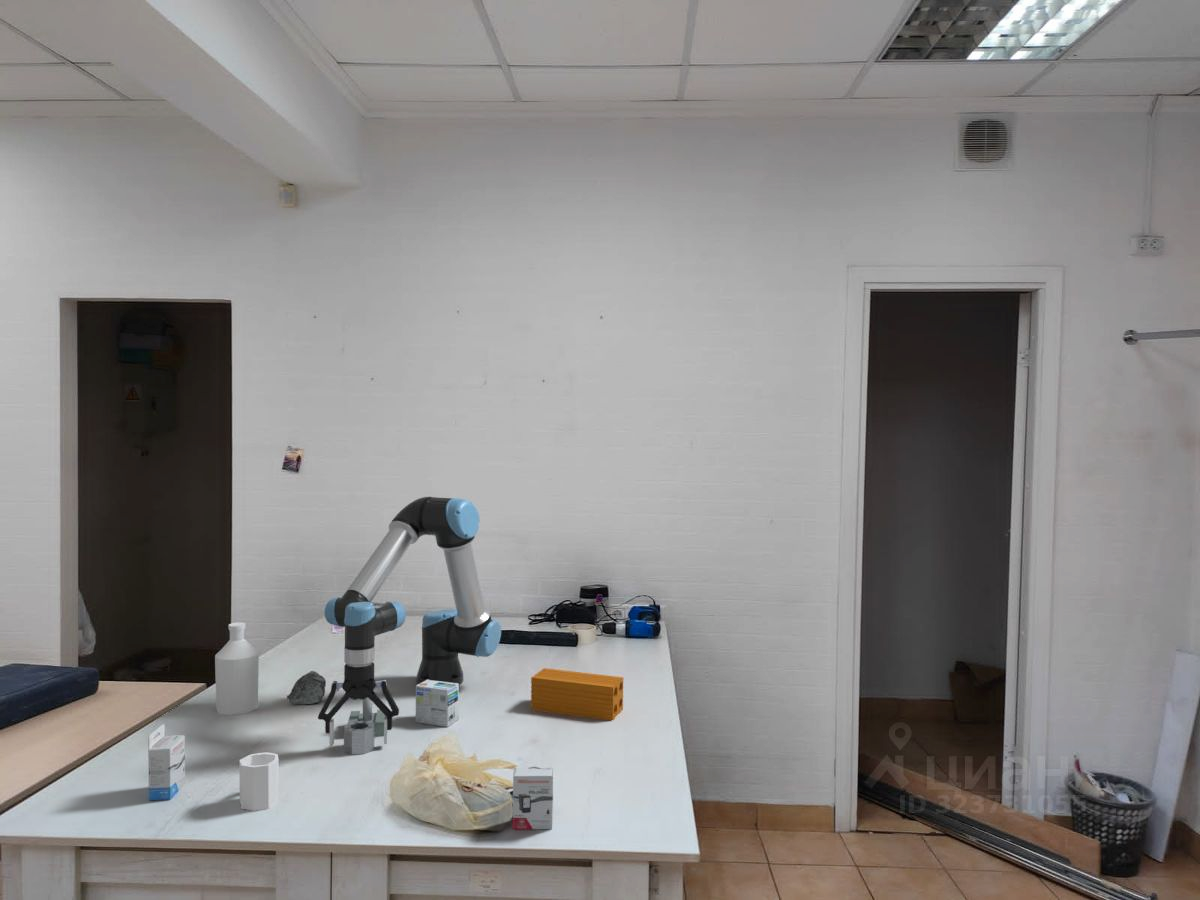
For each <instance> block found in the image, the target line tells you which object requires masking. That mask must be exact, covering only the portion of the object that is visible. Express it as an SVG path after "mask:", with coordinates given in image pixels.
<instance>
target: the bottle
mask: <svg viewBox="0 0 1200 900" xmlns="http://www.w3.org/2000/svg"><path fill="white" fill-rule="evenodd" d="M245 629H246V622H241V621H240V622H232V623H229V624H228V630H229V640H228V641H227V643H226V644H224V646H223V647H222V648H221V649H220V650H219V651H218V652H217V653H216V654H215V656H214V668H215V669H214V670H215V671H214V673H215V675H214V676H215V702H216V703H215V705H216V706H215V707H216V708H215V711H216V713H217V714H221V715H226V716H233V715H234V716H235V715H242V714H246V713H251V712H252V711H254V710H256V709H258V708H259V667H260V666H259V664H260V663H259V662H260V661H259V660H260V659H259V656H260V655H259V654H260V653H259V652H260V651H259V650H258V649H257V648H255V646H252V645H251V644H250V643H249V642H248V640H246V638H245Z"/></svg>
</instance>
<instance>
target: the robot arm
mask: <svg viewBox="0 0 1200 900" xmlns="http://www.w3.org/2000/svg"><path fill="white" fill-rule="evenodd" d="M479 514H480V513H479V511H478V508H477V507H476V506H475V504H474V503H473V502H471V501H470V500H468V499H463V498H459V497H454V498H452V497H450V498H449V497H437V496H436V497H435V496H423V497H420V498H417V499H415V500H413V501H412V502H410V503H409V504H407V505H406V506H404V507H403V508H402V509H401V510H400V511H399V512H397V514H396V515H395V516H394V518H392V520H391V521H390V523H389V525H388V532H387V533H386V534H385V536H384V537H383V538H382V540H381V541H380V543H379V544H378V546H377V547H376V548H375V549H374V551H373V553H372V554H371V556H370V557H369V558H368V560H367V561H366V563H365V564H364V566H363V567H362V568H361V570H360V571H359V573H358V574H357V575H356V577H355V578H354V579H353V581H352V583H350V585H349V586H348V588H347V589H346V591H345V592H344V594H343V595H342V596H341V597H333V598H332V599H329V600H328V601H327V603H326V605H325V607H324V617H325V620H326V622H328V623H329V624H330V625H333V626H337V627H340V628H344V646H343V647H344V649H343V650H344V651H343V654H344V657H343V658H344V662H343V663H345V665H344V667H343V668H344V669H343V670H344V671H343V672H344V673H343V674H344V675H343V676H344V678H343V680H344V681H342V682H338V681H336V680H334V681H333V682H332V683H331V686H330V692H329V694H328V696H327V698H326V700H325V702H324V704H323V705H322V707H321V710H320V711H319V712H318V713H319V714H318V716H317V719H318V720H320V721H321V720H322V721H324V722H325V724H324V725H325V726H324V729H325V734H329V748H332V747H334V744H335V718H334V716H335V715H336V714H337V713H338V712H339V710H340V709H341V708H342V707H343V706H344V704H346V702H348V700H349V699H352V700H353V701H356V700H359V699H360V700H363V699H365V698H367V697H368V698H369V699H370V700H371V701H372V704H374V705H375V706H376V707H377V709H378V710H381V711H382V712H383V714H384V715H385V717H384V736H383V744H384V745H387V744H388V732H389V731H391V730H392V728H393V717H397V716H399V714H400V709H399V707H398V705H397V703H396V701H395V699H394V697H393V695H392V694H391V692H390V689H389V687H388V681H387V679H386V678H383V679H382V680H375V663H374V661H375V638H376V637H377V636H380V635H382V634H385V633H388V632H393V631H395V630H396V629H398V628H399V629H400V628H401V627H402V626H403V625H404V623H405V621H406V616H407V615H406V610H405V608H404V606H403V605H402V603H400V602H399V601H386V602H384V603H380V602H373V600H374V599H375V597H376V596H377V594H378V593H379V591H380V590H381V588H383V585H384V584H385V583H386V581H387V579H388V578H389V576H390V575H391V573H392V572H393V570H394V569H395V567H397V565H398V563H399V562H400V560H401V559H402V557H403V556H404V555H405V553H406V551H407V550H408V549H409V547H410V546H411V545H413V544H416V543H417V542H418V540H419V538H420V537H422V536H426V535H427V536H434V537H435V541H436V545H437V547H438V548H440V549H443V553H444V558H445V564H446V566H447V567H446V568H447V571H448V576H449V582H450V586H451V591H452V596H453V600H454V605H455V608H454V609H453V608H451V609H450V608H449V609H440V610H435V611H430V612H427V613H426V614H424V616H423V617H422V622H421V623H422V624H421V647H422V648H421V661H420V664H419V667H418V670H417V674H416V684H417V685H418V684H420V683H422V682H424V681H426V680H433V681H442V682H450V683H459V685H460V684H462V683H463V682H464V671H463V668H462V666H461V662H460V660H459V655H460V654H462V655H467V656H468V655H469V656H474V657H478V658H479V657H483V658H485V657H486V658H488V657H490V656H492V655H493V654H494V652H496V650H497V648H498V646H499V645H500V641H501V637H502V626H501V624H500V622H499V621H498V620H495V619H493V620H492V614H491V611H490V610H489V609H488V607H485V605H484V599H483V595H482V590H481V587H480V586H481V585H480V579H479V577H478V572H477V566H476V565H477V564H476V562H475V557H474V556H475V555H474V551H473V547H472V546H473V545H472V542H474V540H475V538H476V535H477V533H478V532H479V528H480V526H479V524H480V515H479ZM376 687H378V689H379V690H381V692H382V694H383V696H384V698H385V699H386V701H387V704H388V705H386V704H385V702H383V701H382V699H381V698H380V697H379V696H378V695H377V694H376V692H375V691H374V689H376ZM340 689H343V691H344V692H345V693H344V694H343V695H342V696H341V698H340V699H339V700H338V701H337V703H336V704H335V705H334V706H333V707H332V708H331V710H330V711H329V712H328V713H326V712H327V710H328V709H329V707H330V705H331V703H332V701H333V700H334V697H335V695H336V692H339V691H340ZM388 706H389V707H390V708H389V707H388Z"/></svg>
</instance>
